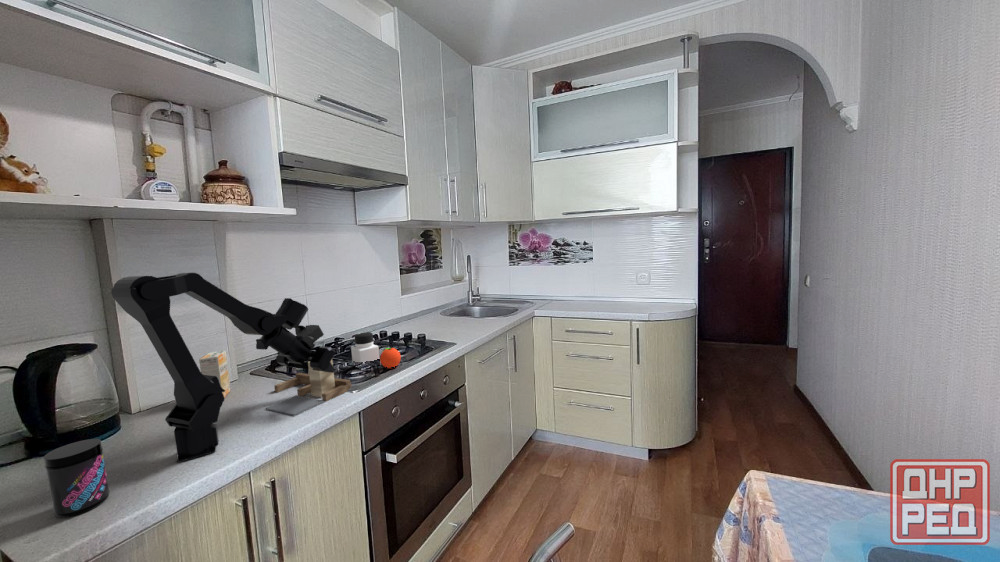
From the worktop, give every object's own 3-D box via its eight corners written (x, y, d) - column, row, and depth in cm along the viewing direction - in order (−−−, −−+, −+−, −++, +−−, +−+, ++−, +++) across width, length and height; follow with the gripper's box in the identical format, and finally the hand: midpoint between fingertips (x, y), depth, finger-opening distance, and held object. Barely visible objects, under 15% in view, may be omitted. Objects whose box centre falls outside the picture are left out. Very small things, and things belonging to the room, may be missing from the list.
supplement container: (50, 525, 63) (38, 464, 62) (58, 506, 68) (47, 449, 67) (108, 505, 67) (99, 448, 66) (112, 488, 72) (103, 434, 71)
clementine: (375, 368, 135) (373, 348, 134) (392, 363, 140) (390, 343, 140) (388, 372, 130) (386, 351, 129) (405, 366, 135) (404, 346, 134)
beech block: (322, 397, 111) (318, 363, 110) (311, 395, 113) (307, 362, 112) (335, 391, 115) (332, 358, 114) (324, 389, 117) (321, 357, 116)
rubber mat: (295, 415, 100) (294, 414, 100) (265, 409, 105) (265, 407, 105) (324, 402, 108) (324, 400, 108) (296, 396, 113) (296, 395, 113)
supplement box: (224, 400, 114) (218, 356, 113) (204, 403, 112) (198, 359, 111) (231, 390, 122) (226, 349, 120) (213, 393, 120) (207, 352, 119)
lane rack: (326, 401, 108) (325, 390, 108) (275, 391, 118) (273, 382, 118) (351, 389, 116) (350, 379, 116) (301, 381, 126) (300, 372, 126)
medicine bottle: (380, 365, 138) (377, 332, 137) (361, 370, 134) (357, 336, 132) (371, 361, 144) (368, 329, 142) (352, 366, 139) (349, 333, 138)
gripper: (325, 318, 104) (361, 348, 115) (281, 316, 113) (318, 344, 124) (302, 356, 98) (342, 383, 109) (257, 350, 107) (298, 376, 117)
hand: (325, 370), depth 115 cm, fingers open, 7 cm apart
